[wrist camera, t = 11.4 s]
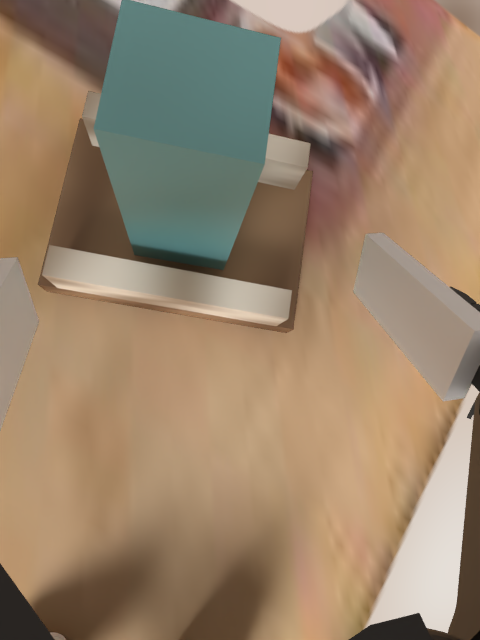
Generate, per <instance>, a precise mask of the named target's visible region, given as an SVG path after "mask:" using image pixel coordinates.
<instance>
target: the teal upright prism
mask: <svg viewBox="0 0 480 640" xmlns="http://www.w3.org/2000/svg"><path fill="white" fill-rule="evenodd" d="M280 40H281V38H279V37H275V36H271V35H267V34H263V33H259V32H255V31H251V30H247V29H243V28H239V27H235V26H231V25H227V24H223V23H219V22H215V21H211V20H207V19H203V18H199V17H195V16H191V15H187V14H183V13H179V12H175V11H171V10H167V9H163V8H159V7H155V6H151V5H147V4H143V3H139V2H135V1H131V0H122V2H121V6H120V11H119V16H118V20H117V25H116V29H115V34H114V38H113V43H112V47H111V52H110V56H109V61H108V65H107V70H106V75H105V79H104V84H103V88H102V93H101V97H100V102H99V106H98V111H97V115H96V120H95V124H94V132H95V135H96V138H97V141H98V144H99V147H100V150H101V153H102V157H103V160H104V163H105V166H106V169H107V172H108V175H109V178H110V181H111V184H112V187H113V190H114V194H115V197H116V200H117V203H118V206H119V209H120V212H121V215H122V218H123V221H124V224H125V228H126V231H127V234H128V237H129V240H130V243H131V246H132V249H133V252H134V255H137V256H143V257H149V258H155V259H161V260H167V261H173V262H179V263H185V264H190V265H196V266H202V267H208V268H214V269H220V270H224V268H225V265H226V262H227V260H228V257H229V255H230V252H231V250H232V247H233V244H234V242H235V239H236V237H237V234H238V232H239V229H240V226H241V224H242V221H243V219H244V216H245V214H246V211H247V209H248V206H249V203H250V201H251V198H252V196H253V193H254V191H255V188H256V185H257V183H258V180H259V178H260V175H261V173H262V170H263V167H264V165H265V158H266V150H267V143H268V135H269V127H270V119H271V111H272V103H273V95H274V88H275V80H276V72H277V64H278V56H279V48H280Z"/></svg>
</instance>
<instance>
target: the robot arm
mask: <svg viewBox="0 0 480 640" xmlns="http://www.w3.org/2000/svg"><path fill="white" fill-rule="evenodd" d="M353 292H354V294H355V295H356V296H357V297H358V298H359V300H360V301H361V302H362V303H363V305H364V306H365V307H366V308H367V309H368V311H369V312H370V313H371V314H372V316H373V317H374V318H375V319H376V320H377V322H378V323H379V324H380V325H381V326H382V328H383V329H384V330H385V331H386V333H387V334H388V335H389V336H390V337H391V339H392V340H393V341H394V342H395V344H396V345H397V346H398V347H399V348H400V350H401V351H402V352H403V353H404V355H405V356H406V357H407V358H408V359H409V361H410V362H411V363H412V364H413V365H414V367H415V368H416V369H417V370H418V372H419V373H420V374H421V375H422V376H423V378H424V379H425V380H426V381H427V383H428V384H429V385H430V386H431V387H432V389H433V390H434V391H435V392H436V394H437V395H438V396H439V397H440V398H441V400H442V401H448V400H455V399H461V398H465V396H466V394H467V392H468V390H469V388H470V386H471V384H473V385H474V386H475V387H476V388H477V389H478V391H479V392H480V305H479V304H476V302H475V301H474V300H473V299H472V298H470V297H469V296H468V295H467V294H465V293H463V292H461V291H459V290H457V289H455V288H453V287H448V286H447V285H446V284H445V283H444V282H442V281H441V280H440V279H439V278H437V277H436V276H435V275H434V274H433V273H431V272H430V271H429V270H428V269H427V268H425V267H424V266H423V265H422V264H420V263H419V262H418V261H417V260H416V259H414V258H413V257H412V256H411V255H410V254H408V253H407V252H406V251H405V250H403V249H402V248H401V247H400V246H399V245H397V244H396V243H395V242H394V241H392V240H391V239H390V238H389V237H388V236H386V235H385V234H384V233H371V234H366V235H365V239H364V244H363V249H362V253H361V258H360V263H359V267H358V272H357V277H356V281H355V286H354V290H353ZM38 323H39V319H38V316H37V313H36V310H35V307H34V304H33V301H32V298H31V295H30V292H29V289H28V286H27V284H26V281H25V278H24V275H23V272H22V269H21V266H20V263H19V260H18V257H13V258H0V430H1V427H2V425H3V422H4V419H5V416H6V413H7V411H8V408H9V405H10V402H11V399H12V397H13V394H14V391H15V388H16V385H17V382H18V380H19V377H20V374H21V371H22V368H23V366H24V363H25V360H26V357H27V354H28V352H29V349H30V346H31V343H32V340H33V337H34V335H35V332H36V329H37V326H38ZM472 415H474V420H473V431H472V442H471V454H470V464H469V476H468V486H467V498H466V508H465V520H464V530H463V541H462V552H461V563H460V574H459V585H458V597H457V605H456V609H455V613H454V616H453V619H452V622H451V624H450V627H449V631H448V634H447V633H445V632H441V631H437V630H432V629H428V628H426V626H425V624H424V622H423V620H422V618H421V616H420V614H419V613H417V614H413V615H409V616H406V617H401V618H398V619H393V620H389V621H385V622H381V623H377V624H373V625H370V626H368V627H367V628H365V629H364V630H362V631H361V632H360V633H358V634H357V635H355V636H354V637H352V638H351V639H349V640H480V393H479V394H478V396H477V398H476V400H475V402H474V404H473V406H472V408H471V410H470V412H469V414H468V416H467V418H469V419H471V417H472ZM0 640H55V639H54V638H53V636H52V635H51V634H50V632H49V631H48V629H47V628H46V627H45V625H44V624H43V622H42V621H41V620H40V618H39V617H38V616H37V614H36V613H35V611H34V610H33V609H32V607H31V606H30V604H29V603H28V602H27V600H26V599H25V597H24V596H23V595H22V593H21V592H20V590H19V589H18V588H17V586H16V585H15V583H14V582H13V581H12V579H11V578H10V576H9V575H8V574H7V572H6V571H5V570H4V568H3V567H2V565H1V564H0Z"/></svg>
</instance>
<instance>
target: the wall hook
mask: <svg viewBox="0 0 480 640" xmlns="http://www.w3.org/2000/svg"><path fill="white" fill-rule="evenodd" d="M50 634H51V635H52V636H53V638H54V639H55V640H66V639H65V637H64V636H63V635H61V634H59V633H55V632H50Z"/></svg>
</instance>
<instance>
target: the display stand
mask: <svg viewBox="0 0 480 640" xmlns="http://www.w3.org/2000/svg"><path fill="white" fill-rule="evenodd" d="M100 97H101V94H99V93H95V92H91V91H88V94H87V98H86V102H85V106H84V110H83V114H82V118H83V119H81V118H80V120H79V124H78V128H77V132H76V136H75V140H74V144H73V148H72V152H71V156H70V160H69V164H68V168H67V172H66V176H65V180H64V184H63V188H62V191H61V195H60V199H59V203H58V207H57V211H56V215H55V219H54V223H53V227H52V231H51V235H50V239H49V243H48V247H47V251H46V255H45V259H44V263H43V266H42V270H41V274H40V278H39V282H38V285H39V286H40V287H42V288H43V289H45V290H46V291H48V292H54V293H60V294H65V295H71V296H77V297H83V298H88V299H94V300H100V301H106V302H111V303H117V304H123V305H129V306H135V307H140V308H146V309H152V310H158V311H163V312H169V313H175V314H181V315H186V316H192V317H198V318H204V319H210V320H215V321H221V322H227V323H233V324H238V325H244V326H250V327H256V328H261V329H267V330H273V331H279V332H285V333H287V332H289V331H291V330H293V328H294V320H295V312H296V304H297V296H298V288H299V279H300V271H301V263H302V255H303V247H304V239H305V231H306V223H307V215H308V207H309V199H310V190H311V182H312V174H313V171H309V170H306V169H307V168H308V160H309V152H310V144H311V143H307V142H302V141H298V140H294V139H290V138H285V137H281V136H277V135H273V134H269V135H268V143H267V150H266V158H265V165H264V167H263V170H262V173H261V175H260V178H259V180H258V183H257V185H256V188H255V191H254V193H253V196H252V198H251V201H250V203H249V206H248V209H247V211H246V214H245V216H244V219H243V221H242V224H241V226H240V229H239V232H238V234H237V237H236V239H235V242H234V244H233V247H232V250H231V252H230V255H229V257H228V260H227V262H226V265H225V268H224V270H220V269H214V268H208V267H202V266H196V265H190V264H185V263H179V262H173V261H167V260H161V259H155V258H149V257H143V256H137V255H134V252H133V249H132V246H131V243H130V240H129V237H128V234H127V231H126V228H125V224H124V221H123V218H122V215H121V212H120V209H119V206H118V203H117V200H116V197H115V194H114V190H113V187H112V184H111V181H110V178H109V175H108V172H107V169H106V166H105V163H104V160H103V157H102V153H101V150H100V147H99V144H98V141H97V138H96V135H95V132H94V124H95V120H96V115H97V111H98V106H99V102H100Z"/></svg>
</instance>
